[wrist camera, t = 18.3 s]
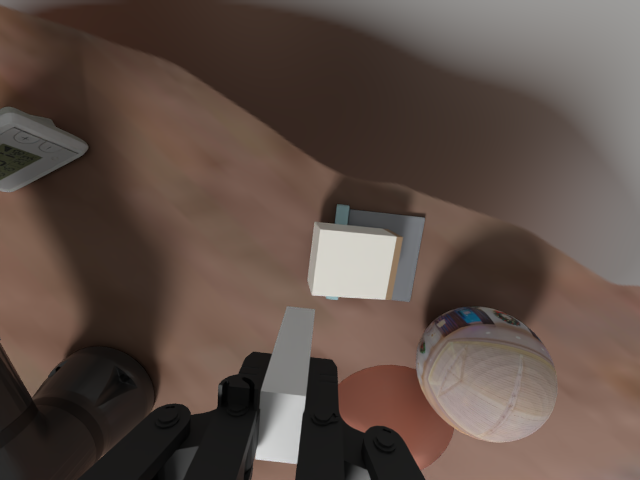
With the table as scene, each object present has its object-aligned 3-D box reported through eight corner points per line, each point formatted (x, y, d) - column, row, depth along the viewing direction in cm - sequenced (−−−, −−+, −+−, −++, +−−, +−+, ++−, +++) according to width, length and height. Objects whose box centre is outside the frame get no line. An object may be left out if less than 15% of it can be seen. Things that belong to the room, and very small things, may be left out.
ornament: (525, 353, 45) (619, 439, 31) (433, 398, 47) (479, 499, 33) (480, 269, 43) (558, 319, 28) (385, 320, 45) (412, 392, 30)
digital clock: (8, 194, 43) (-76, 199, 34) (-17, 137, 41) (-112, 127, 32) (101, 170, 42) (39, 170, 33) (79, 111, 40) (8, 93, 31)
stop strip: (326, 294, 44) (326, 298, 43) (336, 204, 41) (337, 205, 40) (337, 295, 44) (337, 300, 43) (348, 205, 41) (349, 206, 40)
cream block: (311, 295, 37) (391, 299, 38) (320, 229, 35) (403, 237, 37) (307, 280, 41) (378, 285, 43) (314, 221, 40) (387, 229, 41)
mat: (339, 292, 44) (339, 294, 44) (349, 209, 42) (350, 209, 41) (408, 300, 44) (409, 301, 44) (423, 217, 42) (425, 217, 41)
